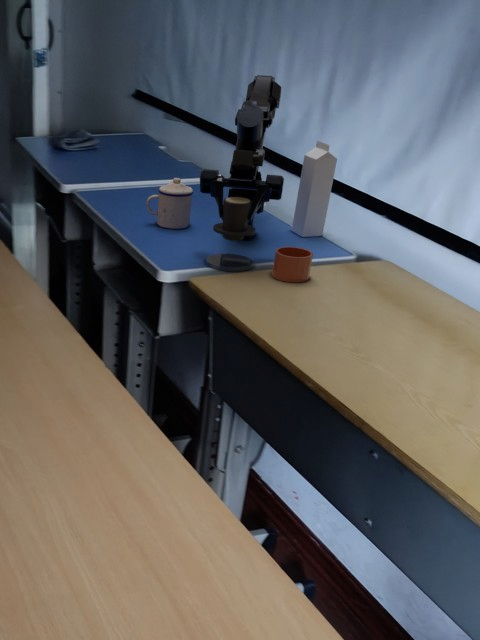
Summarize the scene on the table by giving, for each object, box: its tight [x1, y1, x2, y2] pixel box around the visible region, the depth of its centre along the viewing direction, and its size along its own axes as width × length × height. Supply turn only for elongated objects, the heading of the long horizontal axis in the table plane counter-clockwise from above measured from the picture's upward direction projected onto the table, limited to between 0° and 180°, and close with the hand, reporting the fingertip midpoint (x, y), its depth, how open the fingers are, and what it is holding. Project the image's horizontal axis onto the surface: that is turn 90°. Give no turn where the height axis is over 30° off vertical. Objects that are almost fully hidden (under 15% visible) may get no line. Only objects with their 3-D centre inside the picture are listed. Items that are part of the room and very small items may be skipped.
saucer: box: [205, 253, 254, 272], centre depth 195 cm, size 11×11×1 cm
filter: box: [212, 197, 256, 242], centre depth 190 cm, size 10×10×8 cm
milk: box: [291, 140, 338, 238], centre depth 212 cm, size 6×6×22 cm
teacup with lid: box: [146, 177, 194, 230], centre depth 219 cm, size 12×9×12 cm
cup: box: [271, 246, 314, 283], centre depth 188 cm, size 8×8×6 cm
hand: (234, 218), depth 188 cm, fingers closed on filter, 6 cm apart
